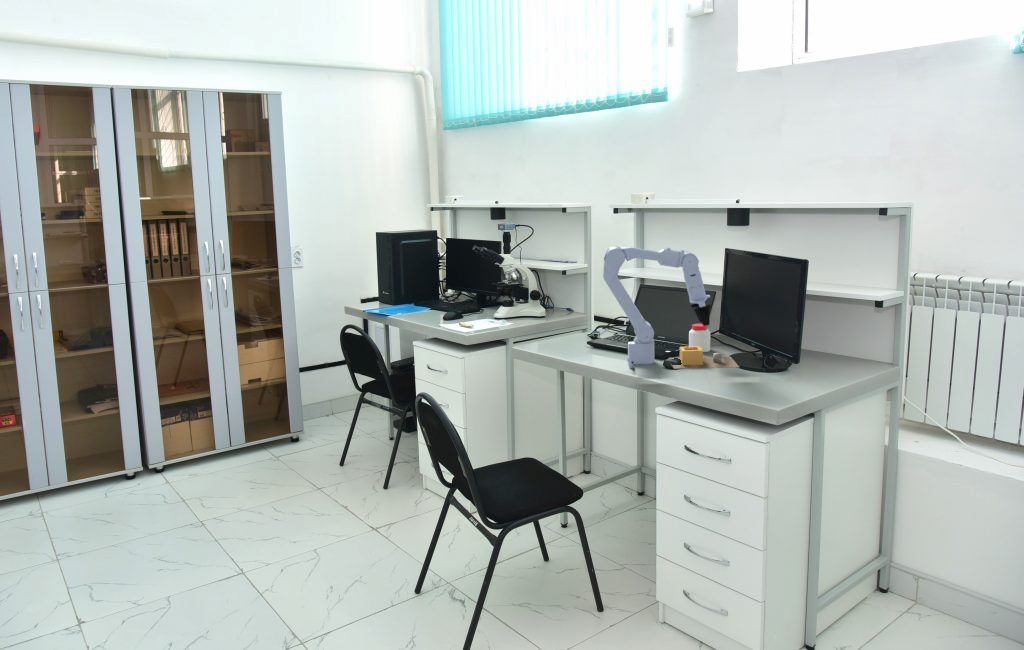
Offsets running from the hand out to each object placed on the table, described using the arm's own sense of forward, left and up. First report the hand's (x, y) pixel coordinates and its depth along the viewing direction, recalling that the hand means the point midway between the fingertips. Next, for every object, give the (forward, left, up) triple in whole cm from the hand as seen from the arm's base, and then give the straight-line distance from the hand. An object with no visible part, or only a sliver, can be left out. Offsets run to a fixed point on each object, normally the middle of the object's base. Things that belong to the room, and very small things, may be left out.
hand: (704, 323), depth 266 cm
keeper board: (-1, -3, -15) cm, 15 cm away
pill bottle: (+1, +17, -15) cm, 23 cm away
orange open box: (-5, -3, -13) cm, 15 cm away
